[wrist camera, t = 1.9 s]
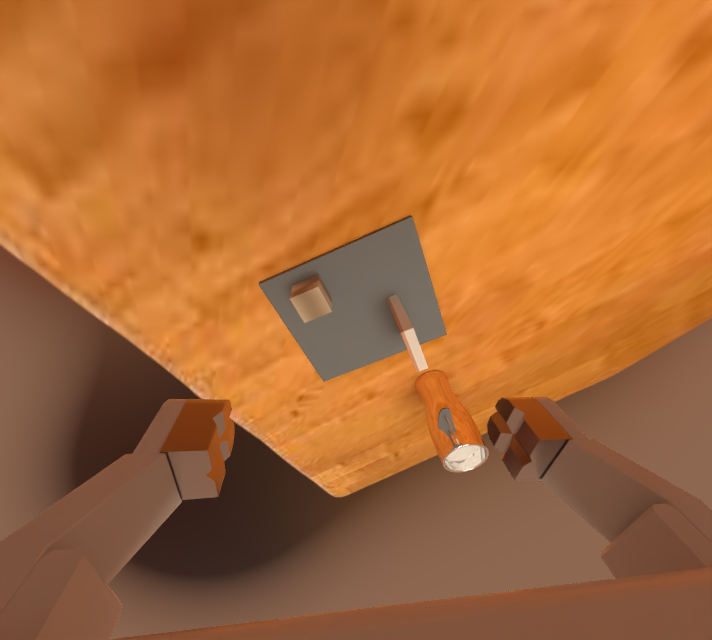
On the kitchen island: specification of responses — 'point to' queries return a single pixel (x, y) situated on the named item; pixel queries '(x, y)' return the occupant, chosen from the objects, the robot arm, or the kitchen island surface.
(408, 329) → the tile
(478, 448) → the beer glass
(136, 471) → the robot arm
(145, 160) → the kitchen island surface
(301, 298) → the beech cube
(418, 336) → the mat
